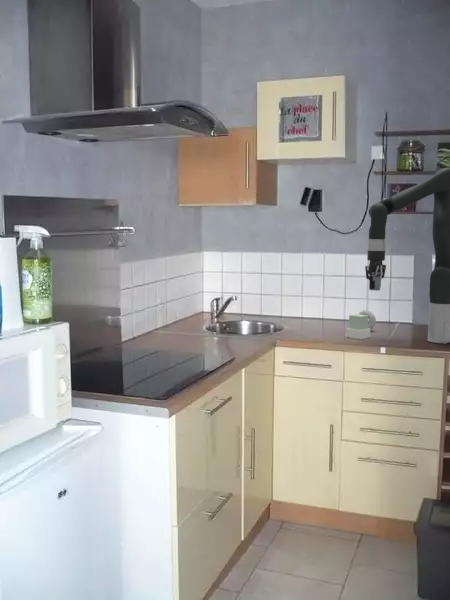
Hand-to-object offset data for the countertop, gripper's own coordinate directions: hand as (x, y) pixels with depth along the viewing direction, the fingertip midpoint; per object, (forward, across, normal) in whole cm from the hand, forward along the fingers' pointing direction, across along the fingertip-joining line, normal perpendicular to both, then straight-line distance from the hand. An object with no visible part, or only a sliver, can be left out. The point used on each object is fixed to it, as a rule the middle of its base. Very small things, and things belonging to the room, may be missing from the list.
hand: (374, 288), depth 286 cm
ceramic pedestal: (+23, 0, +8) cm, 24 cm away
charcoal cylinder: (+1, 0, 0) cm, 1 cm away
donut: (+23, +18, +15) cm, 33 cm away
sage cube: (+19, 0, +8) cm, 21 cm away
